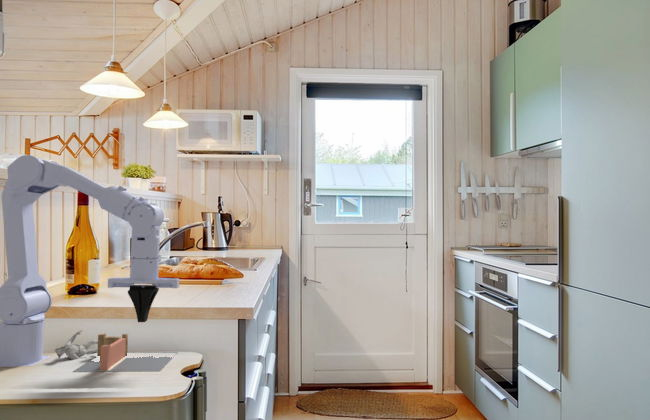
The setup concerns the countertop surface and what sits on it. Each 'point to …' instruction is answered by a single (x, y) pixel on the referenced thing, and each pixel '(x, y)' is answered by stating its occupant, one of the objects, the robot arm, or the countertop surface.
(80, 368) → the board
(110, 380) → the countertop surface
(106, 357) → the fence panel
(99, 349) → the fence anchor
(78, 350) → the soldier figure
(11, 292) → the robot arm
